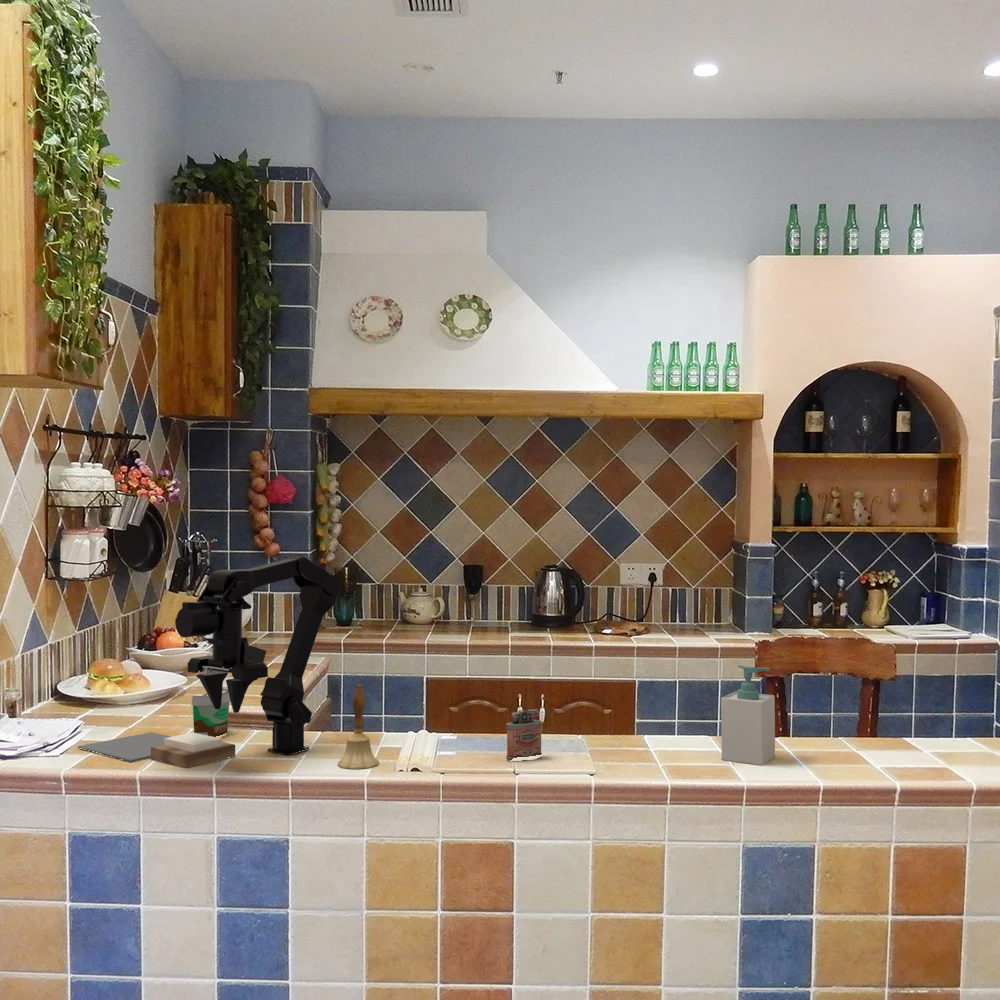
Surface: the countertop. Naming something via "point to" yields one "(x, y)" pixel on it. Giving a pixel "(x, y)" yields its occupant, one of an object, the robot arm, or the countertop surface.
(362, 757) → the hand bell
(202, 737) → the tile
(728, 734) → the soap bottle
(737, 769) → the countertop surface
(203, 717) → the food container
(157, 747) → the wooden block
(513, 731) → the lighter
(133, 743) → the mat
